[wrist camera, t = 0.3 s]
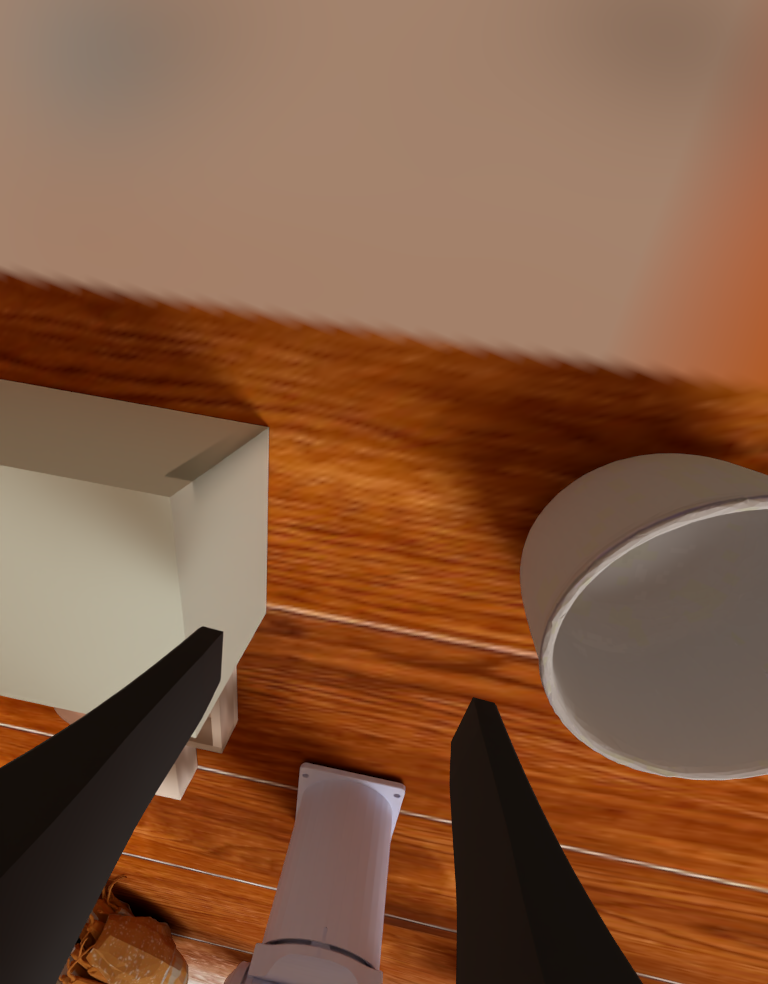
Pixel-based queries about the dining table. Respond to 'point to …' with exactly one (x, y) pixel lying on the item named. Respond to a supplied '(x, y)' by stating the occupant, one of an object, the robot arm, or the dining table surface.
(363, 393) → the dining table surface
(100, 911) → the nautilus
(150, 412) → the grey bridge stand
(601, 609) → the teacup
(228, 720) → the drawer with block handle
